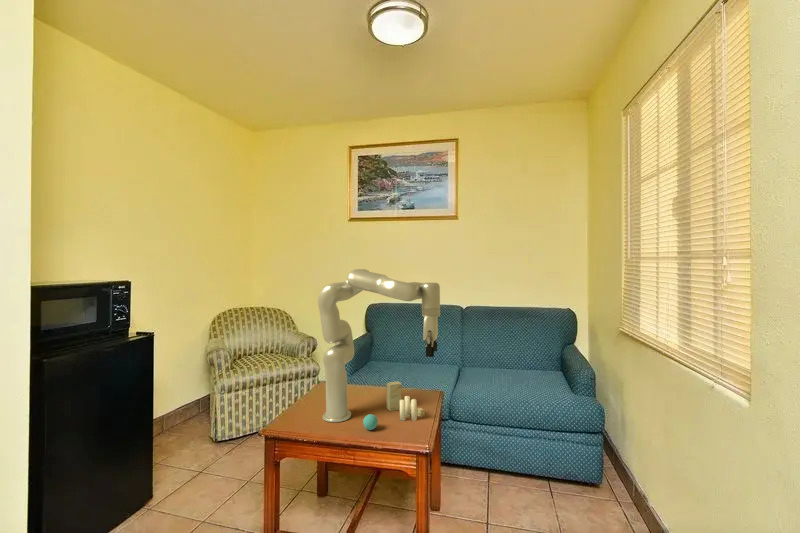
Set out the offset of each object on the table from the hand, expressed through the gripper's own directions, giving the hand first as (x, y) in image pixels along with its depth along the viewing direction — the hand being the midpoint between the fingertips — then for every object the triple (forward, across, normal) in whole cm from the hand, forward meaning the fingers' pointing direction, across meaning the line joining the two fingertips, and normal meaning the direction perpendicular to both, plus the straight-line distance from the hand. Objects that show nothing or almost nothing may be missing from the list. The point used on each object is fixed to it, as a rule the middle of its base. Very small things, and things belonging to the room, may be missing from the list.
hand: (431, 353), depth 153 cm
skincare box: (+31, -17, -21) cm, 41 cm away
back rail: (+31, -14, -10) cm, 35 cm away
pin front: (+31, -5, -14) cm, 34 cm away
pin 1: (+31, -10, -13) cm, 35 cm away
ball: (+28, +6, -25) cm, 38 cm away
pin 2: (+31, -7, -9) cm, 33 cm away
